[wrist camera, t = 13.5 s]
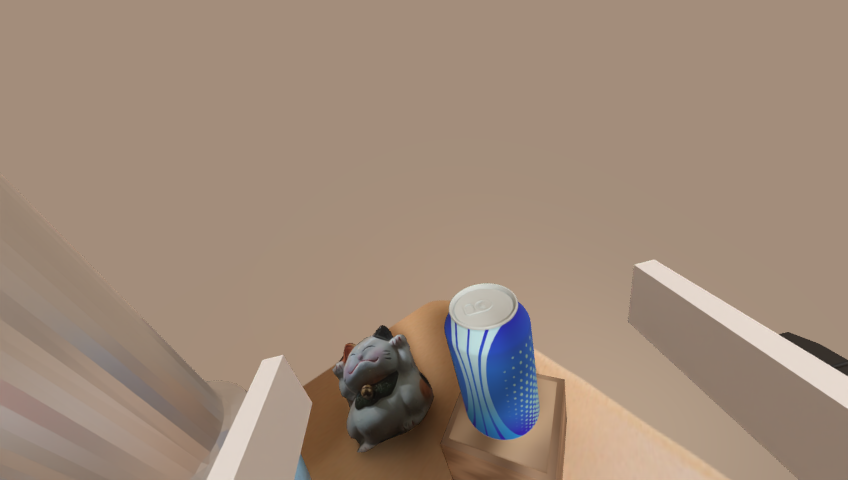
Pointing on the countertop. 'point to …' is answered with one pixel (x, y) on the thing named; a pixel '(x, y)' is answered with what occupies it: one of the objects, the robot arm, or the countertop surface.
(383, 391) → the lucky cat figurine
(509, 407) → the beer can
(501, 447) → the block
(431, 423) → the countertop surface
